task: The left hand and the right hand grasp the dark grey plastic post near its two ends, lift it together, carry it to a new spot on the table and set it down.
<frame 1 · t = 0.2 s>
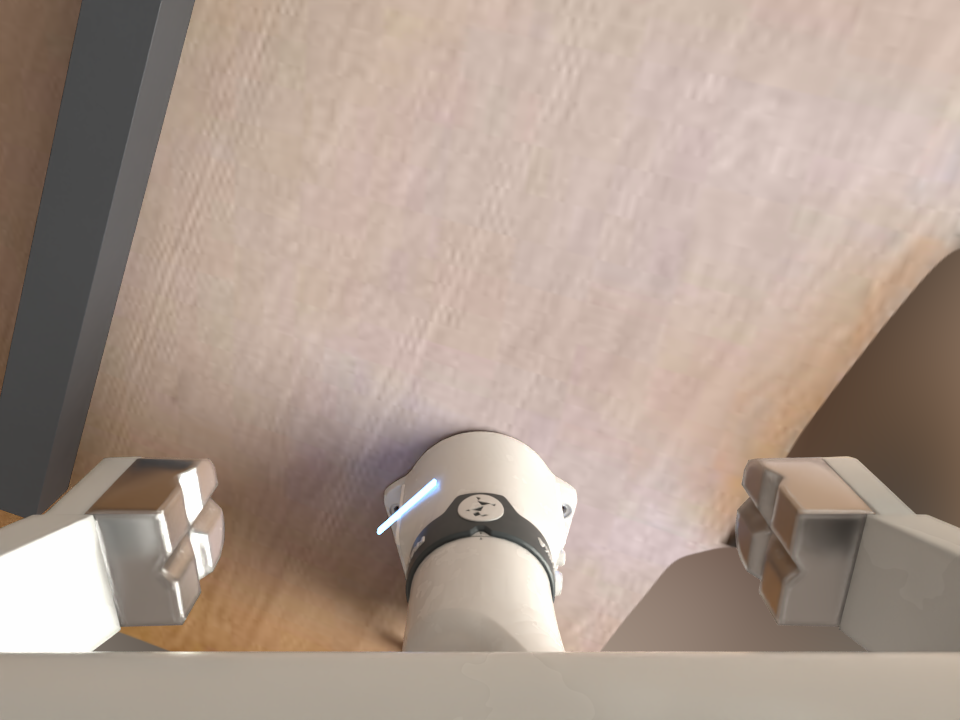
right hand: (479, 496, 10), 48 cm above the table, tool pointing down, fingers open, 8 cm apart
post: (102, 231, 57), on the table
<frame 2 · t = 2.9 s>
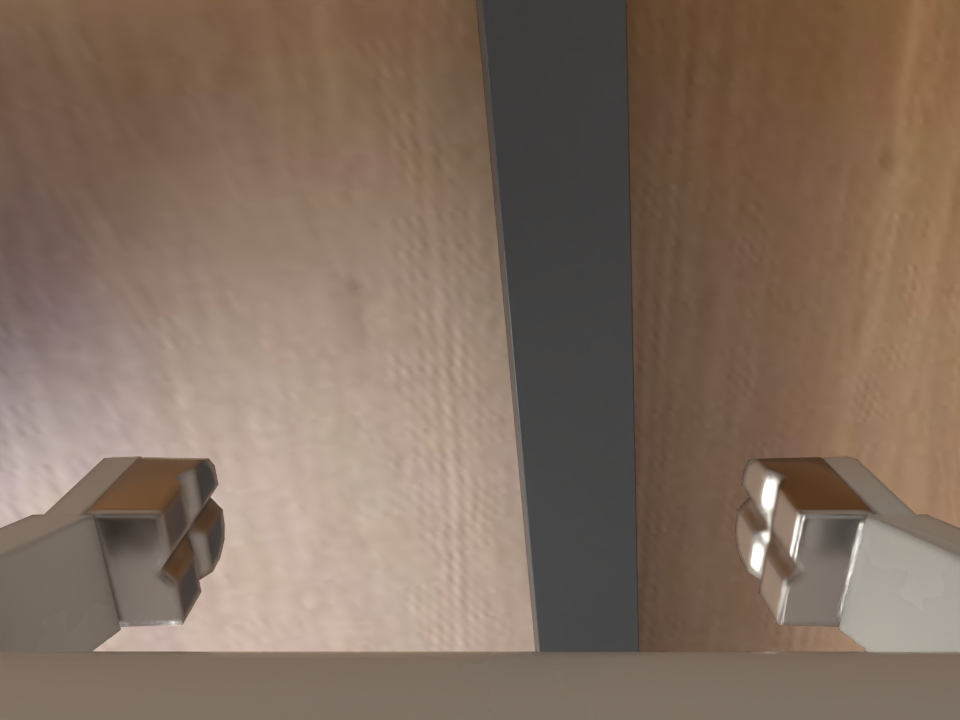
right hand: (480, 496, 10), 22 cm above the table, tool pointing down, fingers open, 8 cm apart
post: (567, 496, 36), on the table
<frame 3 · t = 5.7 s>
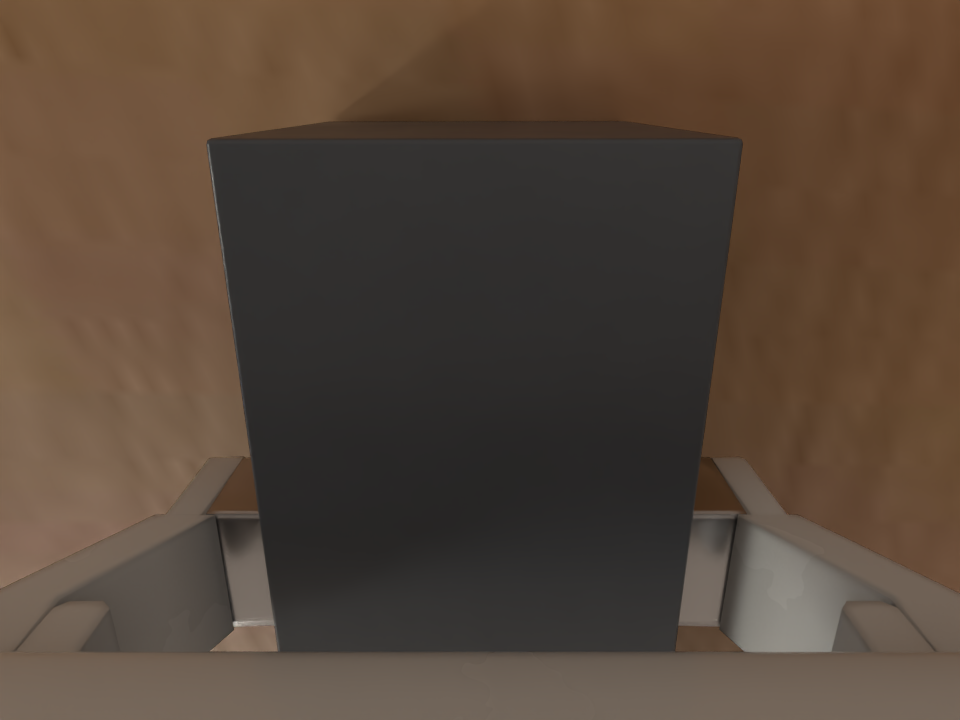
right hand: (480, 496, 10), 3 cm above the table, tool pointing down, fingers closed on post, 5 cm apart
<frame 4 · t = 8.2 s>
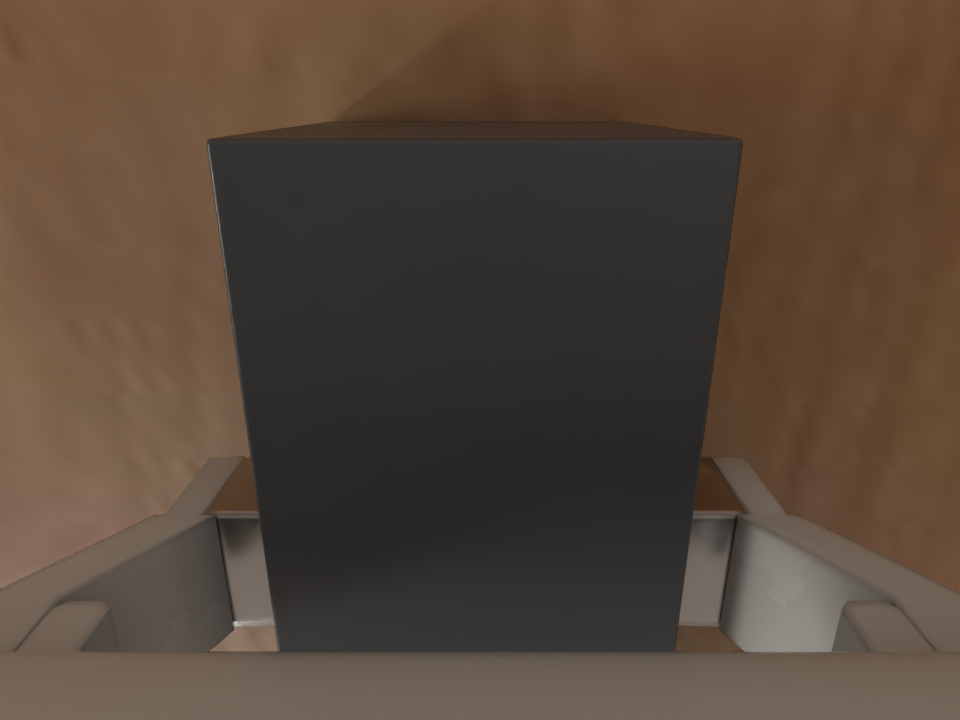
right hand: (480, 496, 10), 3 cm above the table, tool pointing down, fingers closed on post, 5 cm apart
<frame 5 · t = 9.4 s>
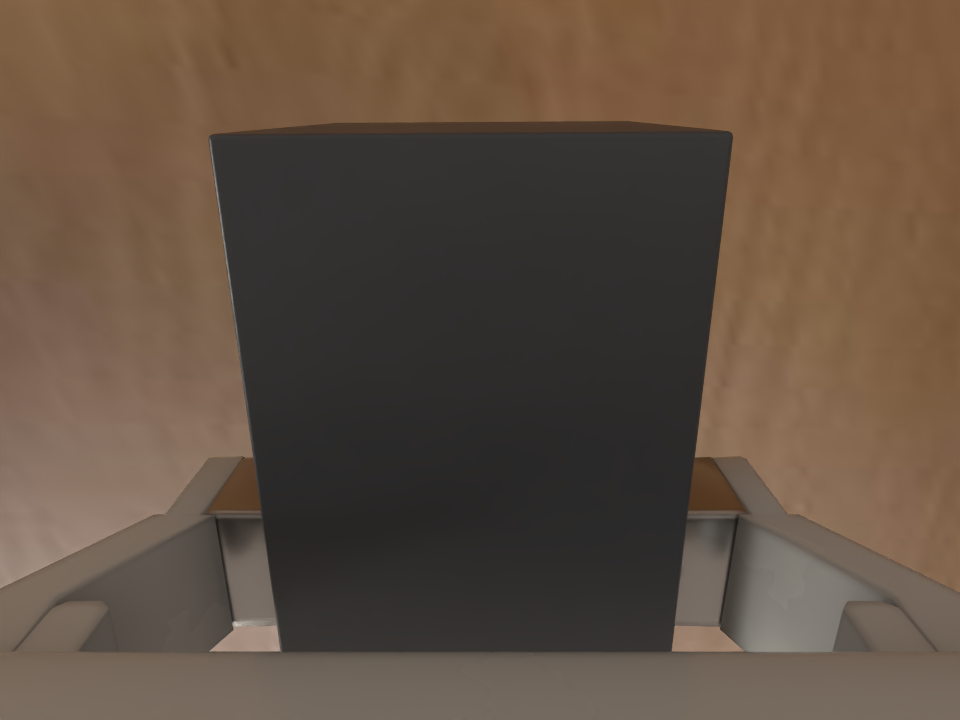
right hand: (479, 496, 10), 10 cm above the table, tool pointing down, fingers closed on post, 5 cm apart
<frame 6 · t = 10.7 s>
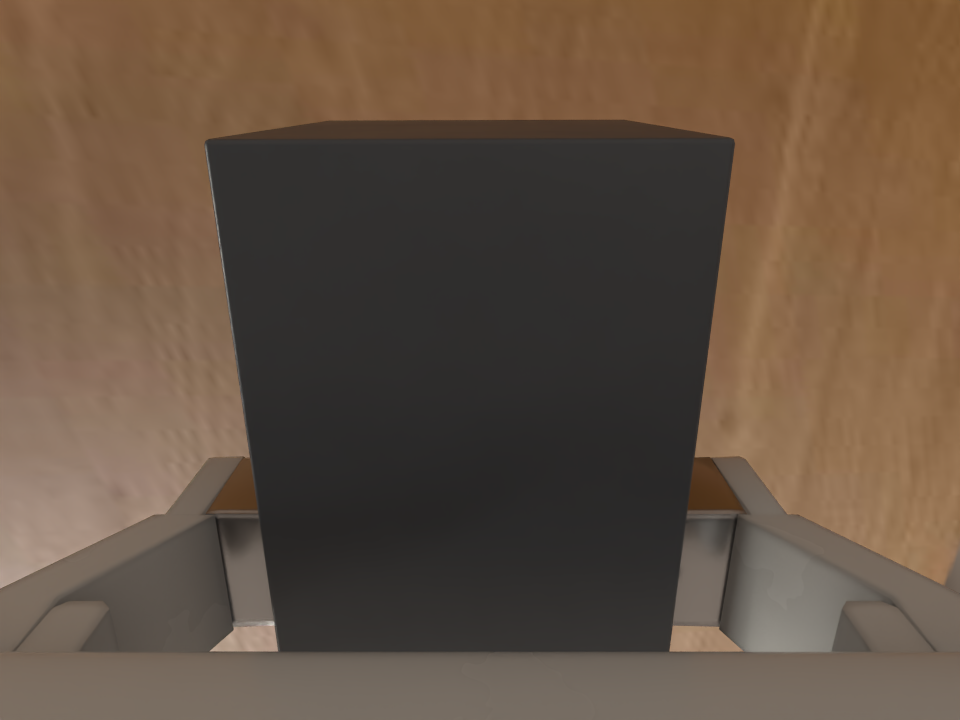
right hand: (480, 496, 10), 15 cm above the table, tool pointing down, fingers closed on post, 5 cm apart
when the left hand's fingers open (2 cm above the table, at t = 13.5 s): post stays where it is, on the table.
when the right hand's fingers open (4 cm above the table, at t = 13.5 s): post stays where it is, on the table.
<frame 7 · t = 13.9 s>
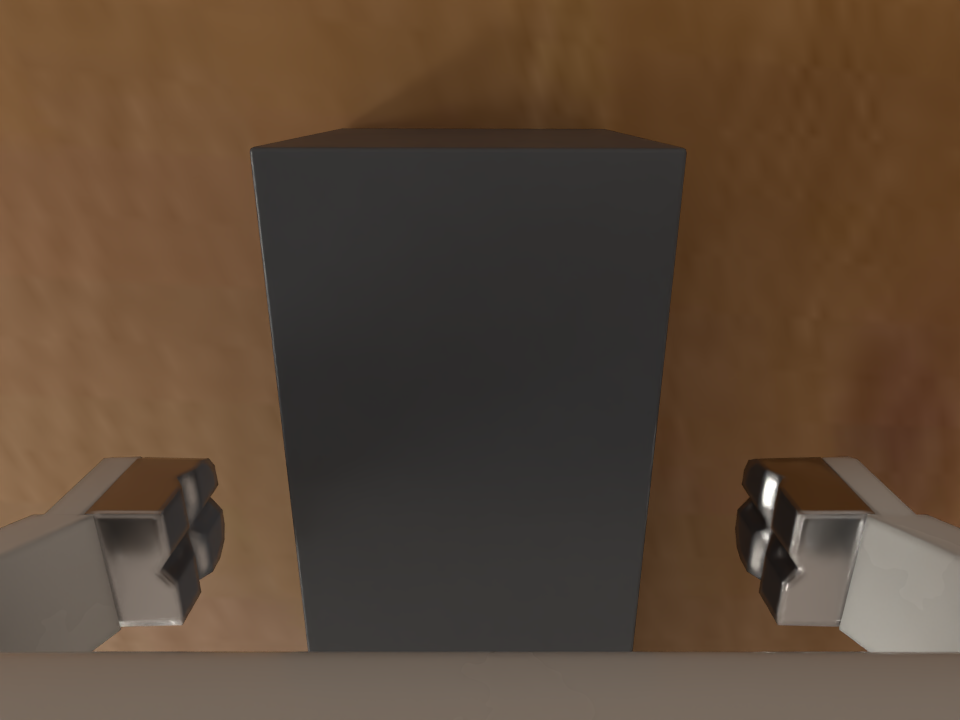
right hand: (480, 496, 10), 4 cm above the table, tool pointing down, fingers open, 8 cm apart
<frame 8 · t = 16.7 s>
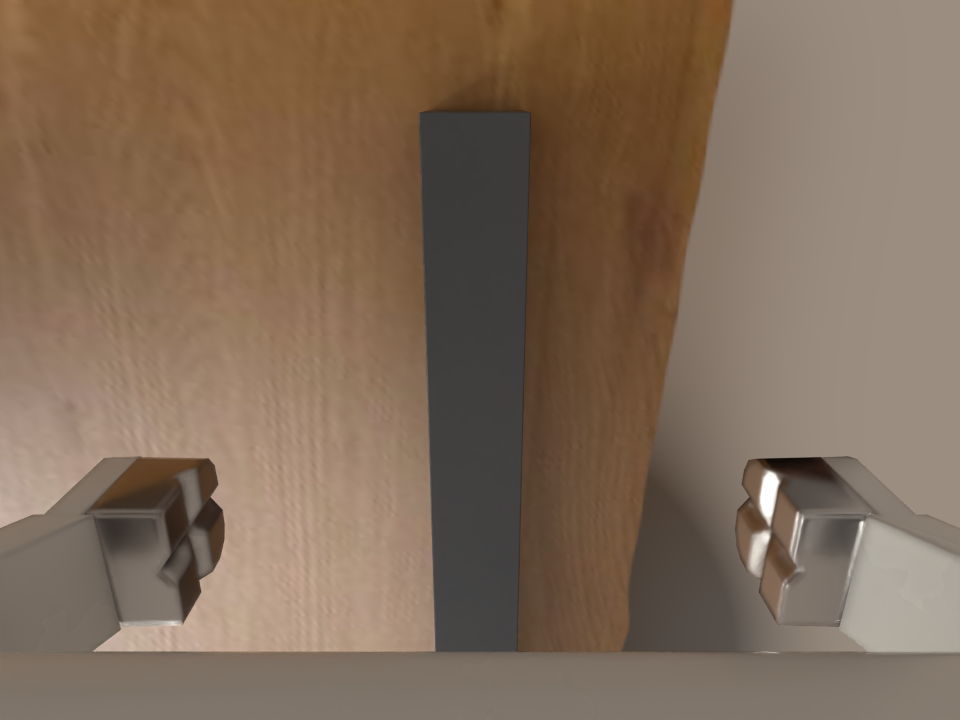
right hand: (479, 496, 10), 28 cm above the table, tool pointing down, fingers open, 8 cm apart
post: (476, 540, 44), on the table
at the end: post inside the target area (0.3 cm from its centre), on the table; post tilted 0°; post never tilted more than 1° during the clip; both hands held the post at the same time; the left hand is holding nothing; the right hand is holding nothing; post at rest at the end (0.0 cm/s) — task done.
